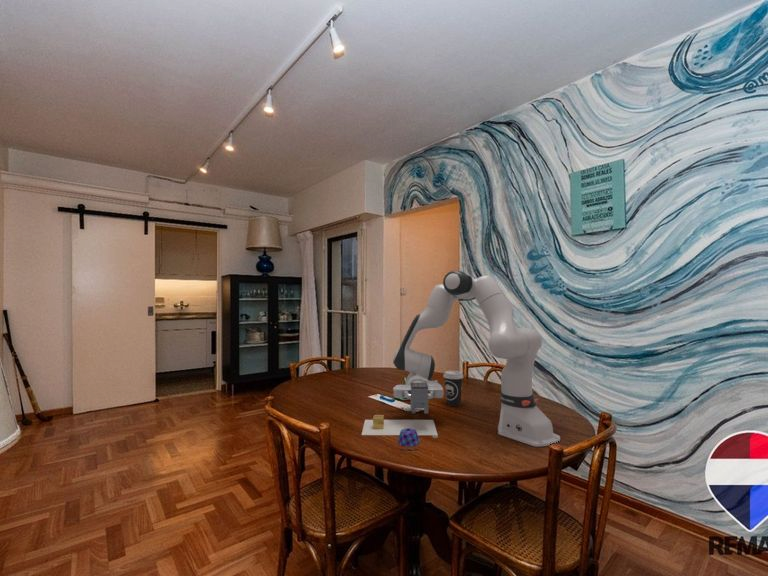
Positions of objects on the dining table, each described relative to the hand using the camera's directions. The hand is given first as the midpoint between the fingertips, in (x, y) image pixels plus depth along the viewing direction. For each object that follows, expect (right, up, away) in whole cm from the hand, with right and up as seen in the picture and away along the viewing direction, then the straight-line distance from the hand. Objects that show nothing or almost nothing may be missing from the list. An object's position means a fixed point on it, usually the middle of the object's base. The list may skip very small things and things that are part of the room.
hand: (419, 397), depth 139 cm
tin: (0, -6, +1) cm, 6 cm away
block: (-16, -12, +1) cm, 20 cm away
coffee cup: (+20, -13, +32) cm, 40 cm away
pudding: (-5, -13, -14) cm, 20 cm away
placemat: (-8, -13, +1) cm, 15 cm away
